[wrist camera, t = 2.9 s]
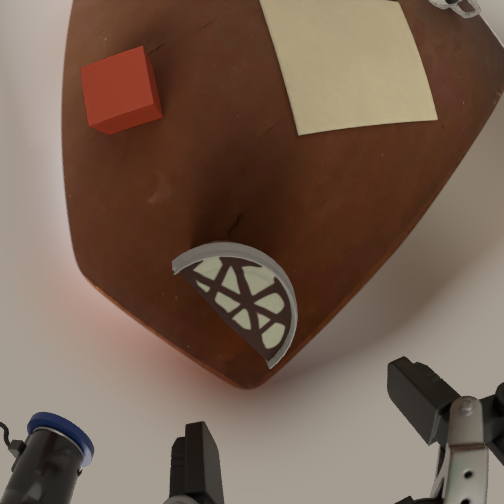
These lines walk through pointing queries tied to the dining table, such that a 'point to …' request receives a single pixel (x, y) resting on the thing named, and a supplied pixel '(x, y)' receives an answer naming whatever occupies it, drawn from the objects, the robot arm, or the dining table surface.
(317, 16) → the linen cloth
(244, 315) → the food container
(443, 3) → the mug
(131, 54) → the red block
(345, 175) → the dining table surface
